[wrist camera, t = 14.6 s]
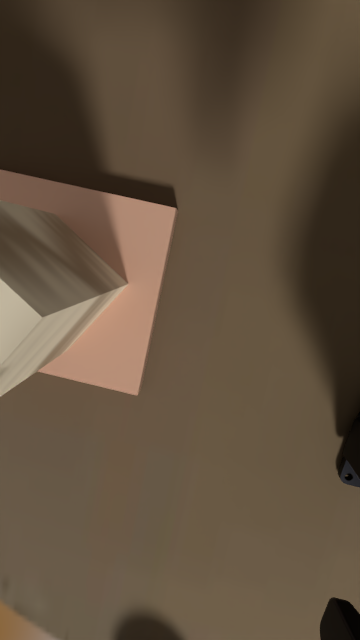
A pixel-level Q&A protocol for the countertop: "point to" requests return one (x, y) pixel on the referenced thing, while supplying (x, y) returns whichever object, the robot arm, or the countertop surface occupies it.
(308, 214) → the countertop surface
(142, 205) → the terracotta tile
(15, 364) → the birch block
